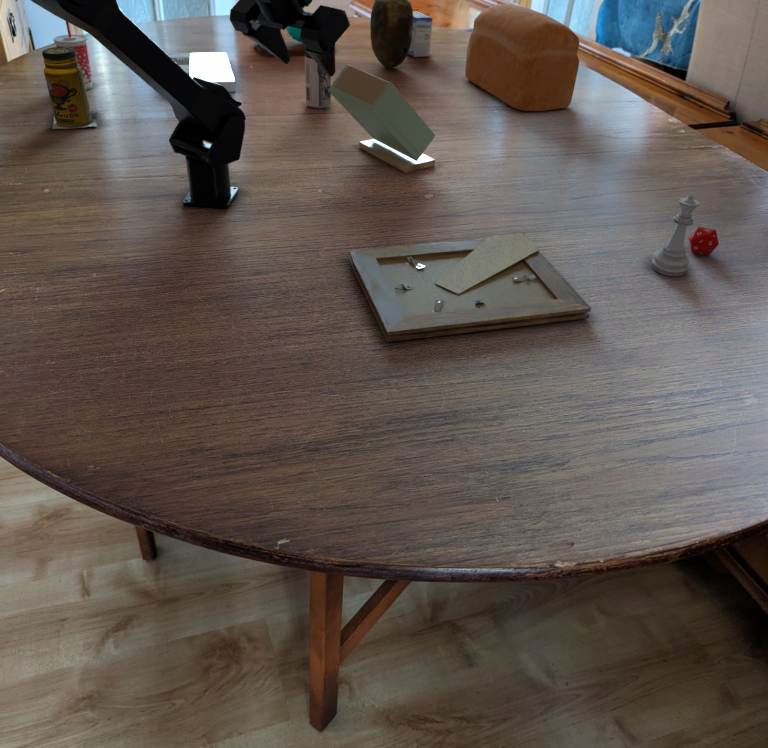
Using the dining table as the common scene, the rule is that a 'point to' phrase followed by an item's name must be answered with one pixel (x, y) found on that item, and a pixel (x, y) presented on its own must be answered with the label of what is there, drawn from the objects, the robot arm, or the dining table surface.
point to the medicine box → (420, 35)
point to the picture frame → (463, 287)
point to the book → (207, 67)
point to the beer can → (316, 84)
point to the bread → (523, 58)
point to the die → (703, 241)
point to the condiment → (67, 89)
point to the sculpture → (391, 31)
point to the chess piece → (676, 242)
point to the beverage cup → (77, 52)
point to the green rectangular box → (382, 111)
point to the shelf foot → (396, 156)
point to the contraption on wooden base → (288, 44)
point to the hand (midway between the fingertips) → (310, 68)
